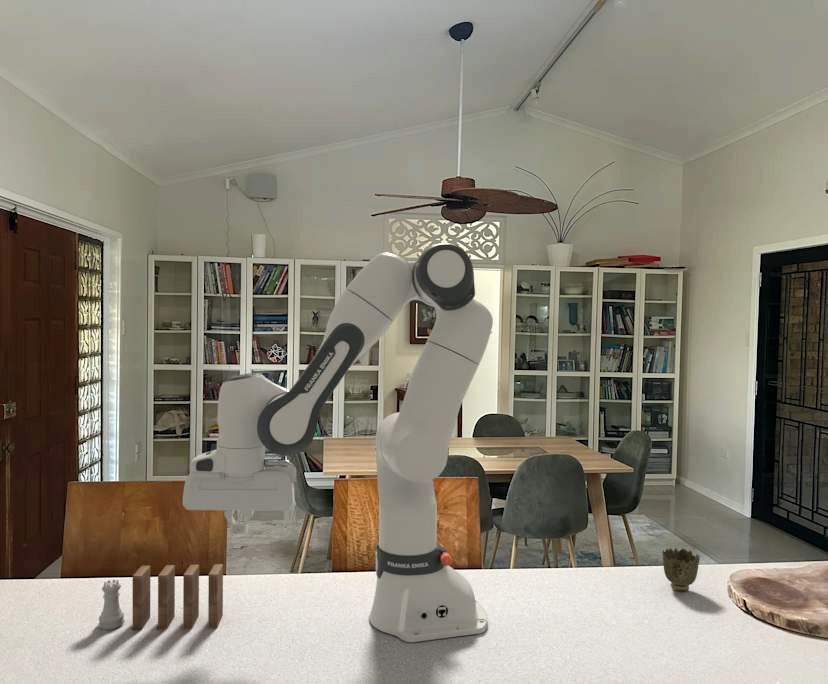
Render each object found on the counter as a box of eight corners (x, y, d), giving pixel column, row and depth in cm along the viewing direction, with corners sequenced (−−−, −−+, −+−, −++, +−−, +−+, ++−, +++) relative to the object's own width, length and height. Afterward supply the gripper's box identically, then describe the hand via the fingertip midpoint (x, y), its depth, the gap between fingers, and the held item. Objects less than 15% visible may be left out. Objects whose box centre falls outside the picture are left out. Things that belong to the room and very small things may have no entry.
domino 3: (198, 616, 123) (199, 564, 123) (192, 628, 118) (192, 574, 118) (190, 616, 123) (190, 564, 123) (183, 628, 118) (183, 575, 118)
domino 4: (222, 615, 124) (223, 564, 123) (217, 627, 119) (217, 574, 118) (214, 615, 123) (214, 564, 123) (208, 628, 119) (208, 574, 118)
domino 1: (150, 617, 122) (150, 565, 122) (141, 629, 117) (141, 575, 117) (141, 617, 122) (141, 565, 122) (132, 630, 117) (132, 576, 117)
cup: (654, 585, 141) (655, 549, 141) (681, 581, 143) (682, 546, 143) (677, 599, 134) (678, 561, 134) (706, 595, 136) (707, 557, 136)
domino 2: (174, 616, 123) (174, 565, 123) (166, 629, 118) (167, 575, 118) (165, 617, 123) (166, 565, 122) (157, 629, 118) (158, 575, 117)
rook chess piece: (129, 620, 121) (129, 578, 121) (114, 631, 117) (114, 588, 116) (108, 618, 122) (108, 576, 122) (92, 629, 117) (92, 586, 117)
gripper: (298, 457, 125) (296, 527, 125) (190, 455, 123) (188, 527, 123) (295, 464, 118) (293, 538, 119) (181, 462, 117) (179, 538, 117)
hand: (238, 532), depth 121 cm, fingers closed
